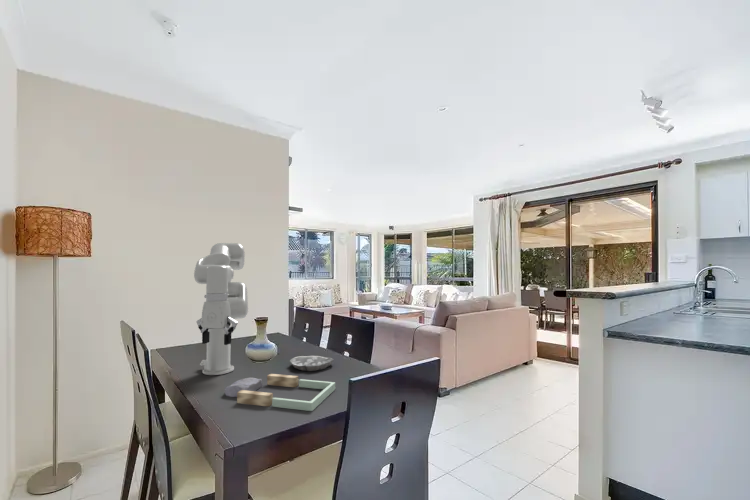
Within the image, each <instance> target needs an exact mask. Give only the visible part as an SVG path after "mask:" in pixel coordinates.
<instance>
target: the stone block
mask: <svg viewBox="0 0 750 500" xmlns="http://www.w3.org/2000/svg"><path fill="white" fill-rule="evenodd" d="M262 386H263V380H262V378H255V377H246V378H241V379H238V380H236V381H234V382H232V383H231V385H228V386H226V387H225V388H224V393H225V397H230V398H231V397H234V398H235V397H236V398H237V392H239V391H241V390H247V391H258V390H259V389H261V388H262Z"/></svg>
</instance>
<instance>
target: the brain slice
mask: <svg viewBox="0 0 750 500" xmlns="http://www.w3.org/2000/svg"><path fill="white" fill-rule="evenodd" d="M334 360H335V359H334V358H333V357H325V356H320V355H307V356H306V355H305V356H304V355H301V356H300V355H299V356H295V357H293V358H291V359H290V360H289V362H290V365H292V366H293V368H295V369H297V370H299V371H305V372H306V371H307V372H313V371H321V370H324V369H326V368H328V367H330V366H331V364H332V363H333V362H334Z"/></svg>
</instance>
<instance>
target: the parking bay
mask: <svg viewBox="0 0 750 500" xmlns="http://www.w3.org/2000/svg"><path fill="white" fill-rule="evenodd" d="M298 387H299V388H305V389H308V388H309V389H315V390H316V389H317V390H321V391H320V392H319V393H318V394H317V395H316V396H315V397H313V399H311V400H309V401H308V400H301V399H300V400H299V399H293V398H292V399H291V398H284V397H283V398H282V397H273V399H272V405H271V407H273V408H282V409H290V410H299V411H300V410H301V411H307V412H312V411H315V409H316V408H317V407H318V406H319V405H320V404H321V403H323V402H324V400H325V399H327V398H328V396H330V395H331V394H332V393H334V391H335V390H336V382H335V381H327V380H326V381H325V380H314V379H313V380H312V379H304V378H300V379H299V385H298Z"/></svg>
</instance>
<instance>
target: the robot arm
mask: <svg viewBox="0 0 750 500" xmlns="http://www.w3.org/2000/svg"><path fill="white" fill-rule="evenodd" d="M209 252H210V253H209V255H207V256H204V257H201V258H200V259H198V261H196V264H195V268H194V273H193V278H194V280H195V282H196V283H197V284H199V285H200V284H201V285H206V286H205V291H206V292H205V294H204V299H206V300H205V301H204V302H203V306H202V310H201V318H199V319H197V320H196V324H197V328H198V330H199V331H200V333H201V335H202V337H201V339H202V340H201V341H202V342H201V344H204V345H206V359H202V360H201V362H200V363H199V366H202V367H203V369H202V374H203V375H206V376H219V375H225V374H228V373H231V372H233V371H234V370H235V366H234V365H232V364H231V350H232V349H231V348H232V347H231V344H232V333H234V331H235V330H236V328H237V325H238V321H237V320H240V319H243V318H246V317H247V316H248V312H249V300H248V299H249V297H248V296H249V295H248V288H247V285H246V284H245V283H244V282H241V281H232V280H233V279H234V276H235V275H234V274H235V272H234V271H238V270H242V269H243V268H244V265H245V256H246V253H245V248H244V246H243V245H242V244H241V243H238V242H237V243H235V242H234V243H233V242H230V243H229V242H227V243H226V242H221V243H215V244H214V245H212V247H211V248H210V251H209Z"/></svg>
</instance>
